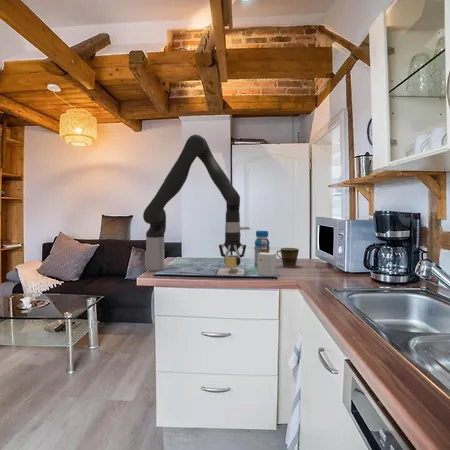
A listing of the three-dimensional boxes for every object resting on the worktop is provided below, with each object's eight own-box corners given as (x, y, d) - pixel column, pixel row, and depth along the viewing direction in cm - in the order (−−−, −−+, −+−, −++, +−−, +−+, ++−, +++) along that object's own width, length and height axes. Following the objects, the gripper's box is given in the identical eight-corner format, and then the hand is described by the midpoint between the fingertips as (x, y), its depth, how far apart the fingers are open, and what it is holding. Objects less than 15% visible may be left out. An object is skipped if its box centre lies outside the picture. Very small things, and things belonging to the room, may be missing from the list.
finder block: (225, 267, 147) (225, 257, 146) (230, 264, 155) (230, 254, 155) (234, 268, 145) (234, 257, 145) (239, 265, 154) (239, 255, 153)
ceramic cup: (292, 264, 174) (292, 247, 174) (302, 267, 165) (302, 249, 164) (272, 265, 170) (272, 248, 170) (281, 269, 161) (281, 250, 160)
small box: (276, 274, 148) (276, 253, 147) (273, 276, 142) (273, 254, 142) (260, 272, 151) (260, 252, 150) (257, 275, 146) (257, 253, 145)
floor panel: (217, 275, 145) (217, 273, 145) (219, 270, 157) (219, 268, 157) (243, 275, 144) (243, 273, 144) (244, 270, 156) (244, 269, 156)
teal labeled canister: (251, 267, 165) (252, 231, 164) (257, 265, 172) (257, 230, 172) (266, 268, 161) (266, 231, 160) (271, 266, 169) (271, 230, 168)
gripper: (217, 231, 146) (217, 266, 147) (246, 231, 145) (246, 266, 146) (219, 230, 154) (219, 263, 155) (247, 230, 152) (247, 264, 153)
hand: (232, 265), depth 150 cm, fingers closed on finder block, 5 cm apart
